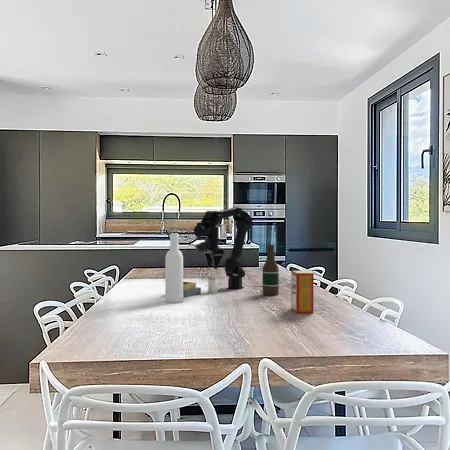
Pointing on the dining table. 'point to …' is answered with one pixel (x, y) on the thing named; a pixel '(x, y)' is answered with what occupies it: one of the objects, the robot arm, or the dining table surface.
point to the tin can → (212, 285)
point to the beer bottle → (270, 274)
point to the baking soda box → (302, 291)
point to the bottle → (174, 272)
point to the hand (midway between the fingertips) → (212, 268)
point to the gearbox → (190, 289)
